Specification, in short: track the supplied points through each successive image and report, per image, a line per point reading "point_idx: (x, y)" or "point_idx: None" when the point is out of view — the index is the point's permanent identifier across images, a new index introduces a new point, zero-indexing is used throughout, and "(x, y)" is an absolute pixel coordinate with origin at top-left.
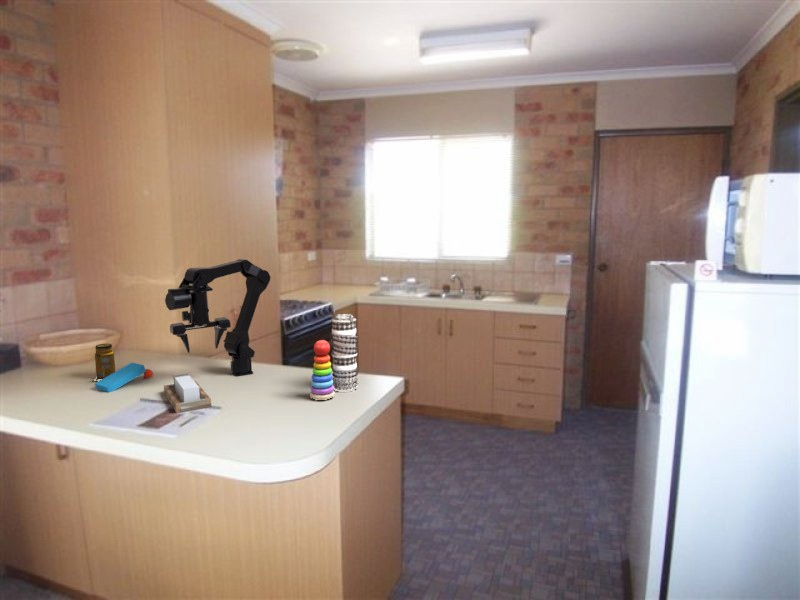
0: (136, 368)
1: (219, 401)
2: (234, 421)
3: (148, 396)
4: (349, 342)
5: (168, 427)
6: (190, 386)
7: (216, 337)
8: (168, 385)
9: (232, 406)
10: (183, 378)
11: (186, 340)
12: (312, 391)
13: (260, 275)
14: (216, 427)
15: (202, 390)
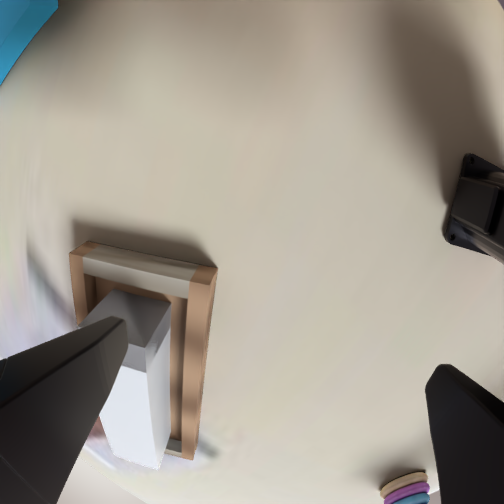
0: (12, 21)
1: (231, 432)
2: (211, 491)
3: (44, 241)
4: None
5: (100, 446)
6: (134, 455)
7: (467, 490)
8: (84, 268)
9: (243, 462)
10: (116, 389)
11: (41, 491)
12: (385, 499)
13: None
14: (176, 487)
15: (192, 410)
